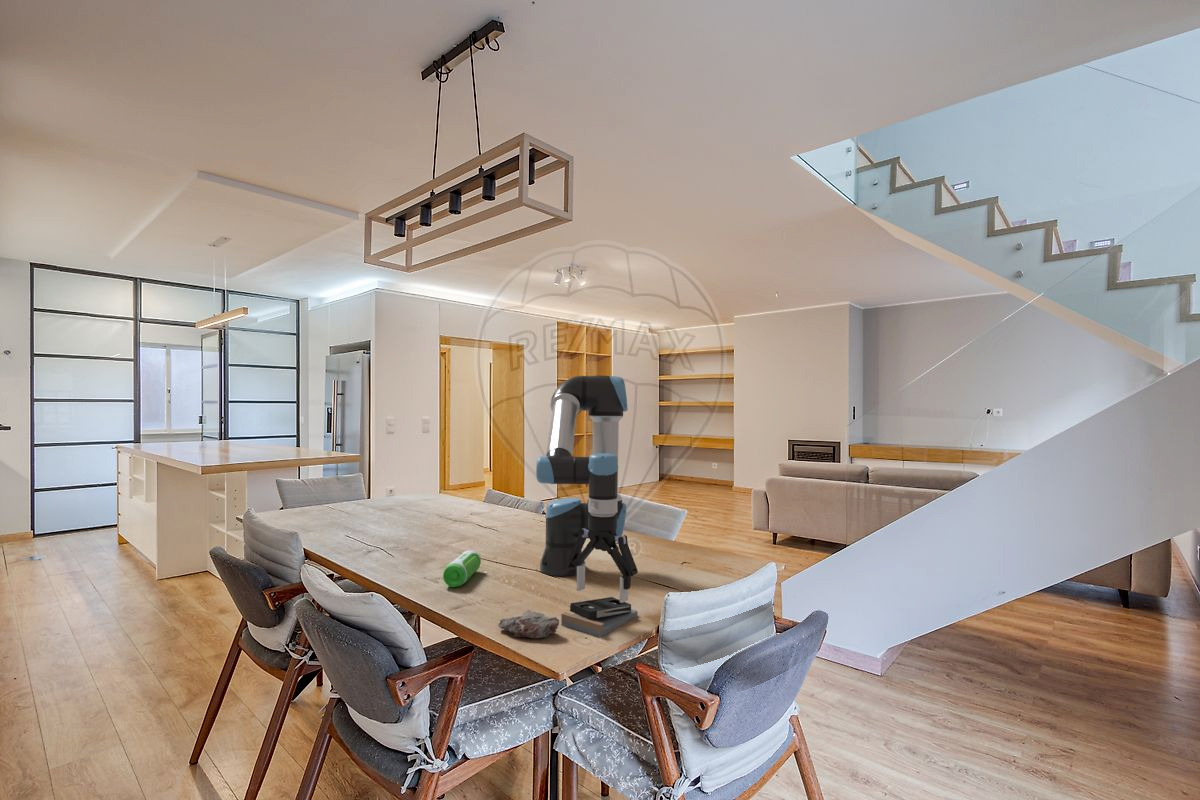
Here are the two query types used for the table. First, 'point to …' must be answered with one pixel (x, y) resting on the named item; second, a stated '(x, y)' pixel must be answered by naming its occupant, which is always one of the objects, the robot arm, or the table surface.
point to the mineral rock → (530, 625)
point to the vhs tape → (600, 608)
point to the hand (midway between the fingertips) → (601, 595)
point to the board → (596, 622)
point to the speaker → (461, 568)
